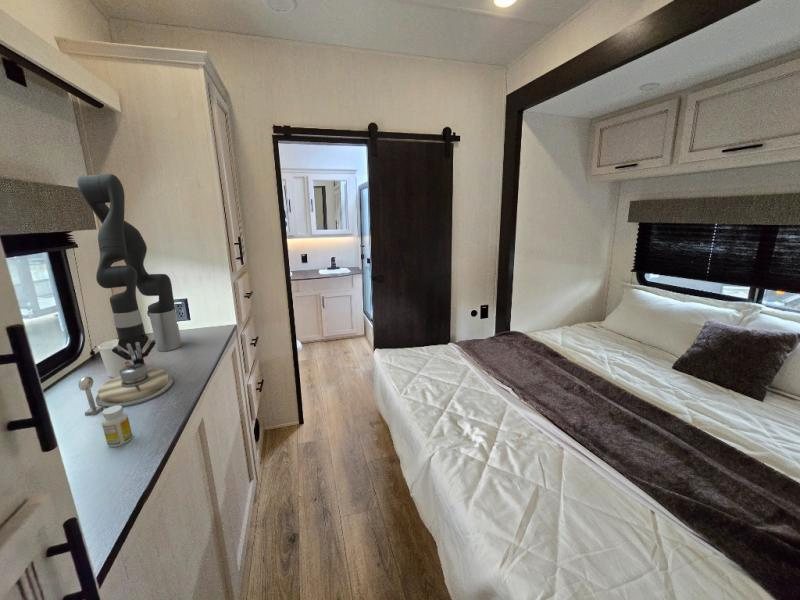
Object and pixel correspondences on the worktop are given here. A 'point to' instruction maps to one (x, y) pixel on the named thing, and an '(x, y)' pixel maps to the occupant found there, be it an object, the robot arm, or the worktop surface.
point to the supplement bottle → (116, 426)
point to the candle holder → (112, 358)
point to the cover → (134, 375)
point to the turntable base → (137, 401)
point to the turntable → (117, 393)
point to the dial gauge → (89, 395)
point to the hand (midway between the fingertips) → (140, 368)
